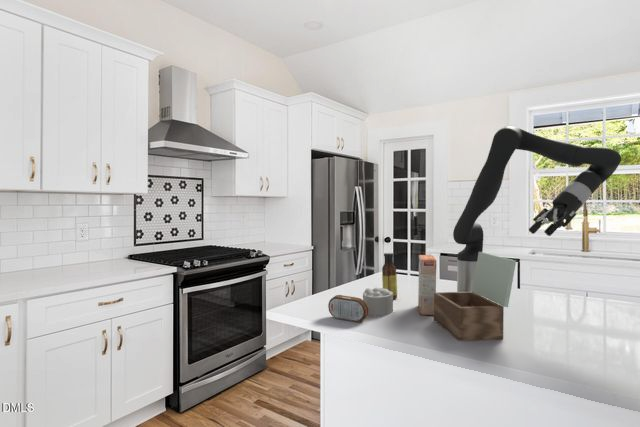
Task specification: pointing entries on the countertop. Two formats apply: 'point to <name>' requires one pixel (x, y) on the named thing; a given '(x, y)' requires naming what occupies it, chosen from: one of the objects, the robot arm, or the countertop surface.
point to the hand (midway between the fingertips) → (538, 233)
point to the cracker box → (426, 284)
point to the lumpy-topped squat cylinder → (378, 301)
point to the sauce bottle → (389, 274)
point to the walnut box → (468, 316)
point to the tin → (348, 308)
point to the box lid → (494, 278)
